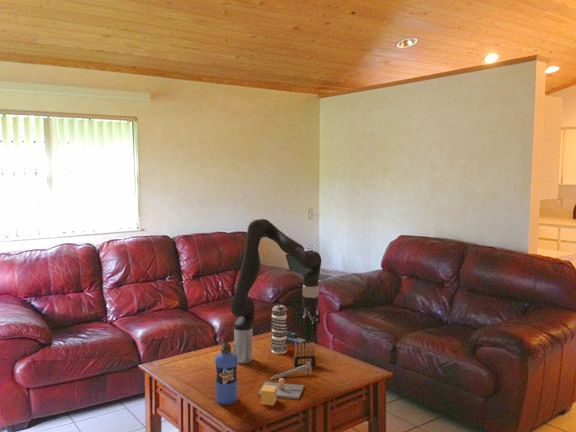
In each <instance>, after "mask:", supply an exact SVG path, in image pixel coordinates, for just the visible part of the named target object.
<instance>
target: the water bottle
mask: <svg viewBox="0 0 576 432" xmlns="http://www.w3.org/2000/svg"><path fill="white" fill-rule="evenodd" d="M231 346H232V345H231V344H230V343H229V342H227V341H226V342H223V344H222V345H221V350H220V352H221V353H218V354H217V355H215V356H214V357H215V359H214V362H215V363H214V364H215V371H216V377H215V378H216V380H215V401H216V403H217V404H218V405H221V406H229V405H233V404H235V403H237V401H238V376H237V370H238V369H237V368H238V363H237V355H236V354H233V352H232V347H231Z"/></svg>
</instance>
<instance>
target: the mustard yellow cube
mask: <svg viewBox="0 0 576 432" xmlns="http://www.w3.org/2000/svg"><path fill="white" fill-rule="evenodd" d="M263 385H264V384H263ZM263 385H262V386H263ZM261 388H262V387H261ZM261 388H260V390H261V396H260V405H263V406H275V404H276V402H277V401H278V397H277V386H270V385H264V386H263V388H262V389H261Z"/></svg>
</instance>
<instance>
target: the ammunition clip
mask: <svg viewBox="0 0 576 432" xmlns="http://www.w3.org/2000/svg"><path fill="white" fill-rule="evenodd" d="M315 348H316V347H315V342H314V341H313V342H312V343H311V342H309V344H308V342H302V344H301V343H300V342H298V344H297V342H295V344H294V352H293V353H294V356H293V357H294V360H293V367H294V368H297V367H300V366H303V365H306V363H307V364H308V362H309V363H310V364H311V367H315V366H316V349H315Z"/></svg>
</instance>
